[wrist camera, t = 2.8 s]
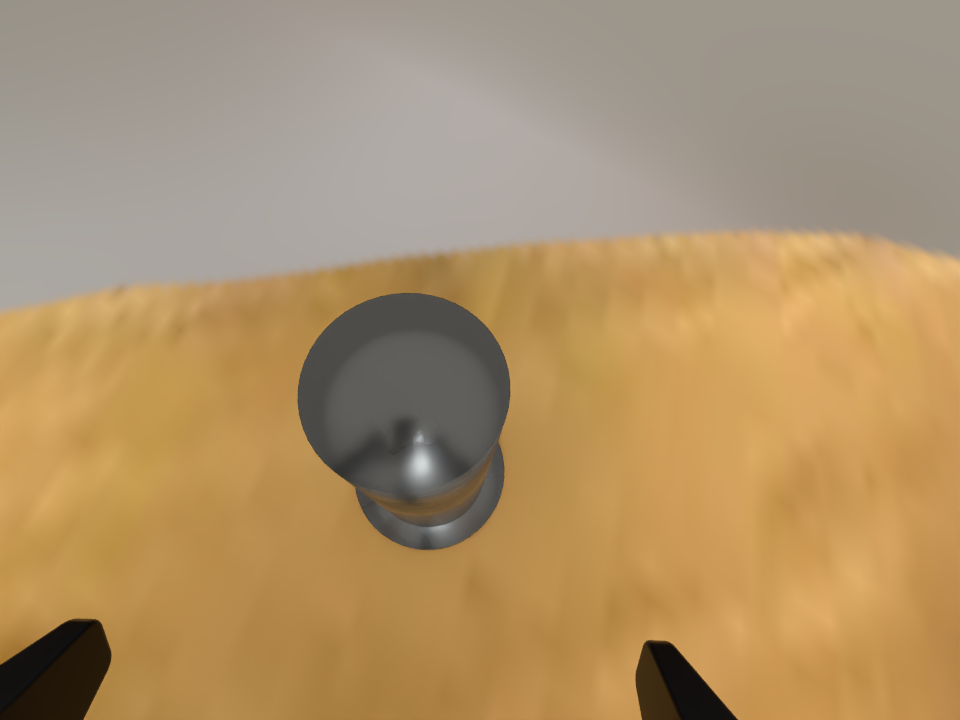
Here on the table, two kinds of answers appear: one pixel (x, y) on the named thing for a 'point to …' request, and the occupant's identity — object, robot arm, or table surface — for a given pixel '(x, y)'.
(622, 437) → the table surface
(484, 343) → the grey metal post
